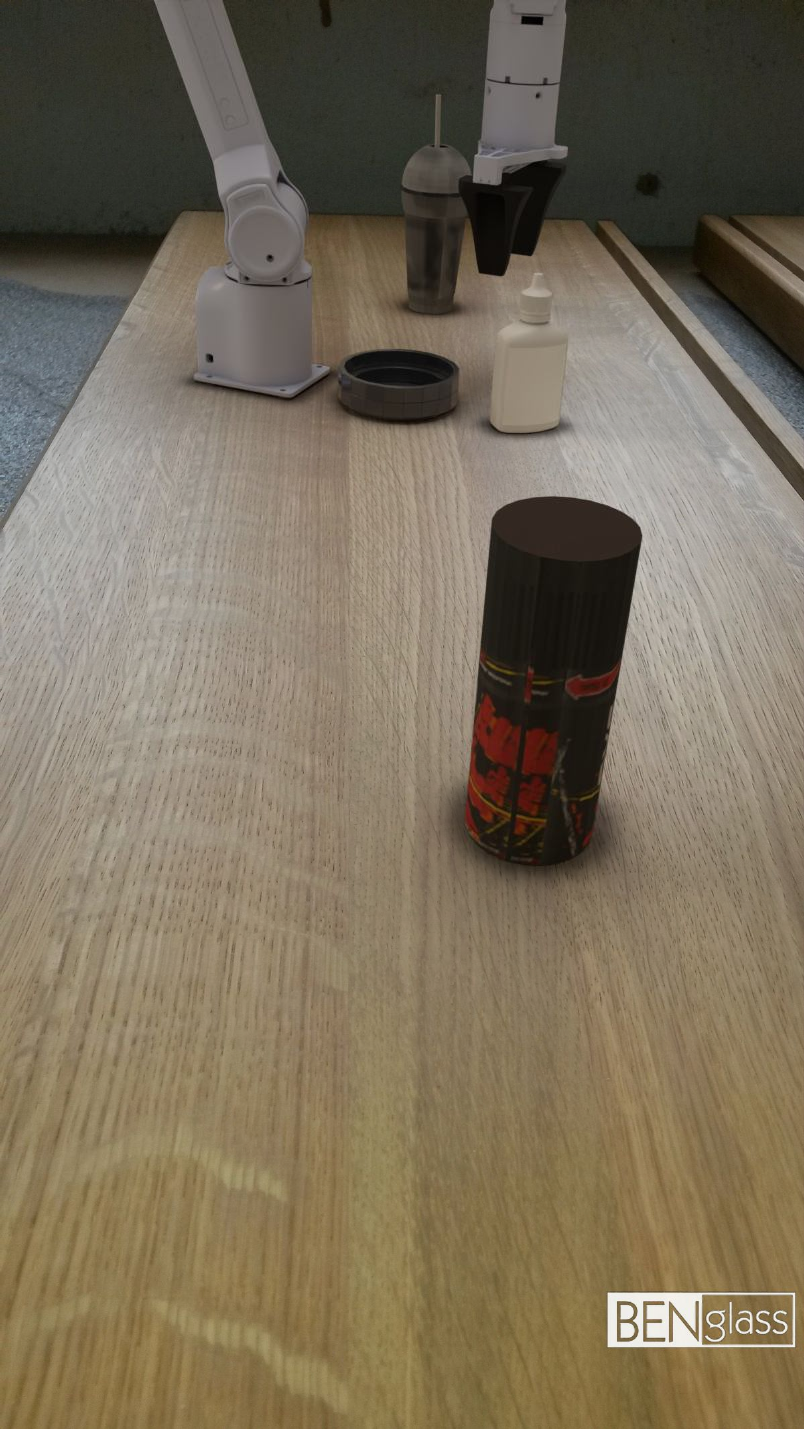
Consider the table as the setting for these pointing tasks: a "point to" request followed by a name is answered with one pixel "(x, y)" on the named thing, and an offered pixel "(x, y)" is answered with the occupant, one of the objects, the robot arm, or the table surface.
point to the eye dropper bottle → (529, 366)
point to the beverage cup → (433, 223)
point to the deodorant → (548, 674)
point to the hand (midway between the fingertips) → (506, 263)
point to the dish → (398, 384)
